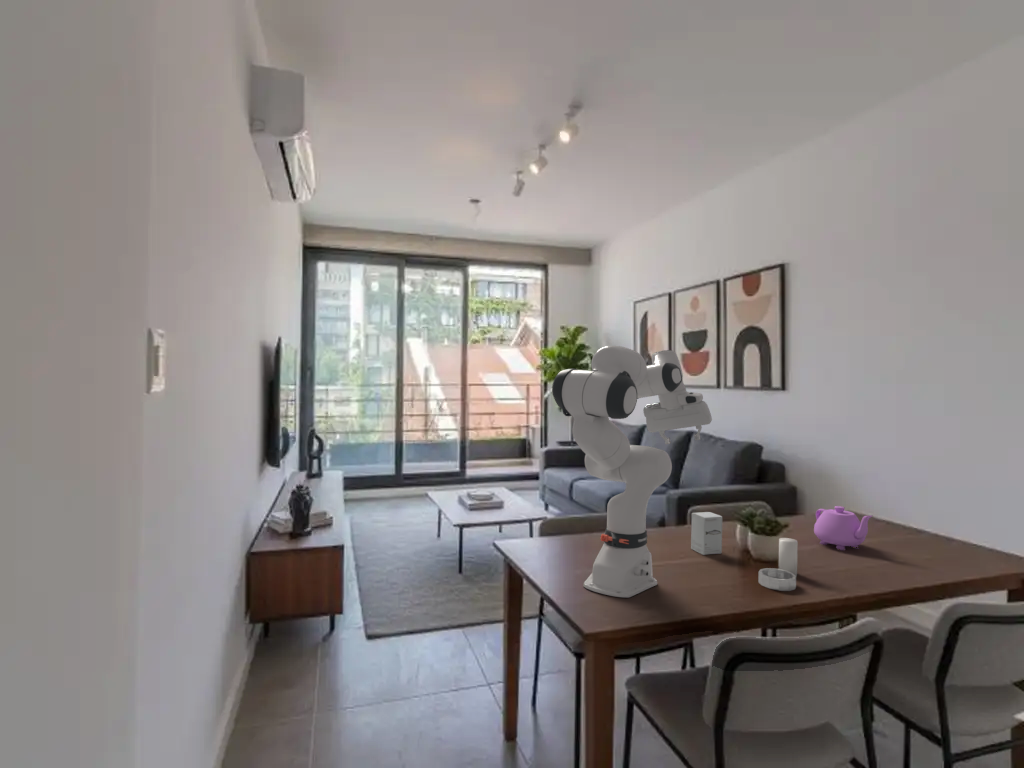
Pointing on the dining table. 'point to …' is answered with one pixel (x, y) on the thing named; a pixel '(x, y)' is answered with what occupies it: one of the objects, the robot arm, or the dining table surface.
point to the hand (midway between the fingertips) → (682, 441)
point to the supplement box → (706, 533)
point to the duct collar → (777, 579)
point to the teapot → (840, 527)
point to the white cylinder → (788, 555)
